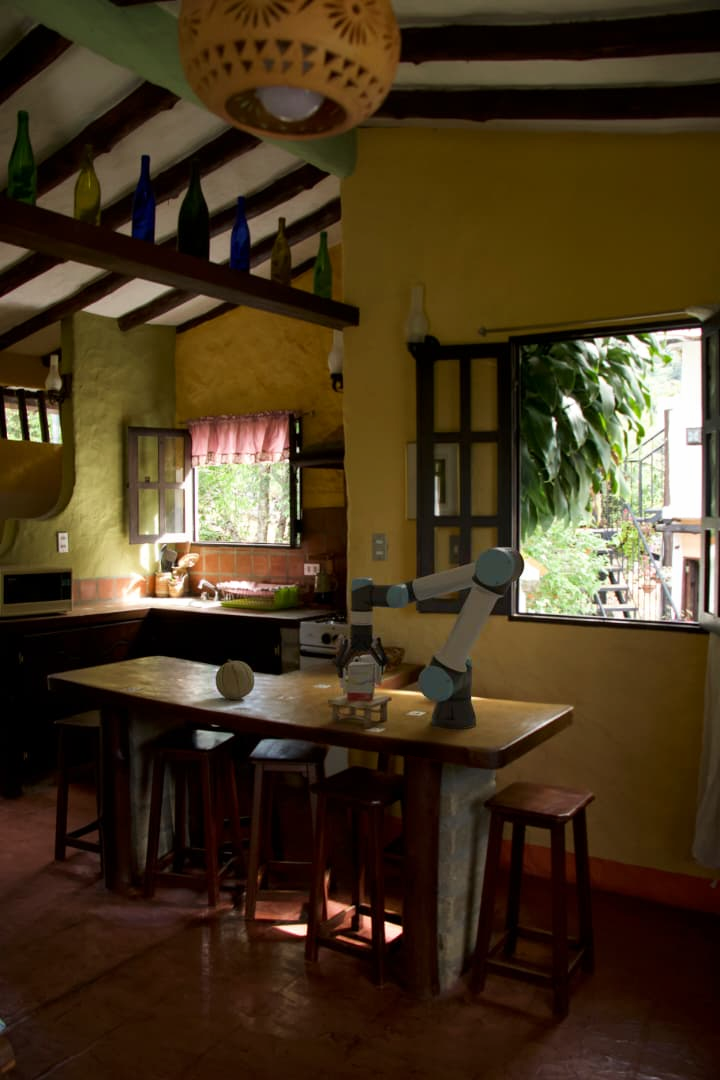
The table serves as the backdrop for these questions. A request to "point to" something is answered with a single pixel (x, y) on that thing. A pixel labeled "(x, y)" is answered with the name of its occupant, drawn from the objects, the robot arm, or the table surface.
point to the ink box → (361, 681)
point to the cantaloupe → (234, 680)
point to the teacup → (368, 661)
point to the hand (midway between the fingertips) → (360, 686)
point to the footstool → (359, 708)
